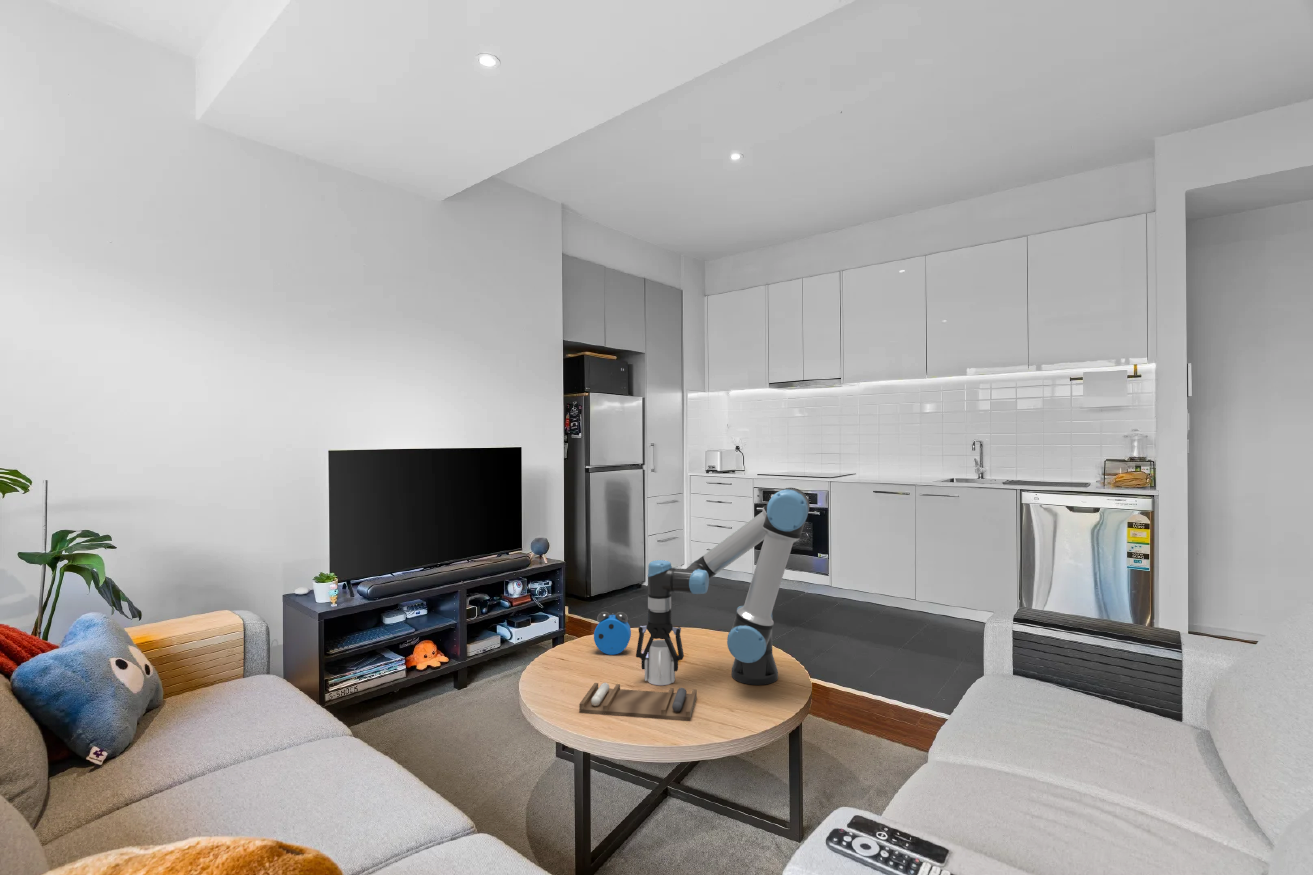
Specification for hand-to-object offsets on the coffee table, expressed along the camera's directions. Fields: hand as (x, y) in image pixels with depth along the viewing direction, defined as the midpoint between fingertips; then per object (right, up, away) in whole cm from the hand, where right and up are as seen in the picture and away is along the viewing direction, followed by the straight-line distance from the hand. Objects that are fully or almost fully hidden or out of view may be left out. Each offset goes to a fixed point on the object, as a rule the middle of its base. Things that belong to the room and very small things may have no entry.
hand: (659, 679), depth 201 cm
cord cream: (-18, 0, -15) cm, 23 cm away
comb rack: (-6, -1, -17) cm, 18 cm away
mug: (0, -1, 0) cm, 1 cm away
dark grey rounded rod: (+6, 0, -19) cm, 20 cm away
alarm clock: (-17, -1, +28) cm, 33 cm away
